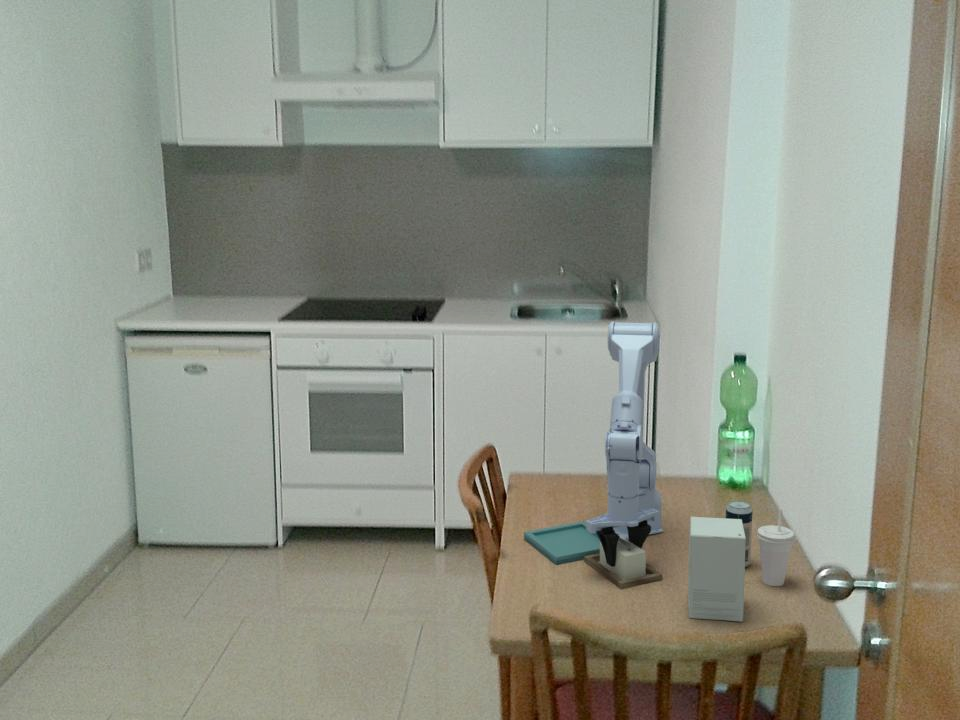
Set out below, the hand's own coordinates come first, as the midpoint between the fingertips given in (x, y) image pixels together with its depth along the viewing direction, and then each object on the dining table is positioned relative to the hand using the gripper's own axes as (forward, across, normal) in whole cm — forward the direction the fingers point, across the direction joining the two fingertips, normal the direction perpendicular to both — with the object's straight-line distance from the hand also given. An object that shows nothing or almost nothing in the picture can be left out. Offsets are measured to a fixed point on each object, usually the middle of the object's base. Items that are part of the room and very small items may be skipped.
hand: (622, 562), depth 176 cm
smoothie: (+2, +22, -16) cm, 27 cm away
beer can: (+2, +21, -7) cm, 22 cm away
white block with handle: (+2, 0, 0) cm, 2 cm away
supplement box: (+2, +6, -20) cm, 21 cm away
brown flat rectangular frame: (+2, 0, 0) cm, 2 cm away
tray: (+2, -3, +14) cm, 15 cm away
